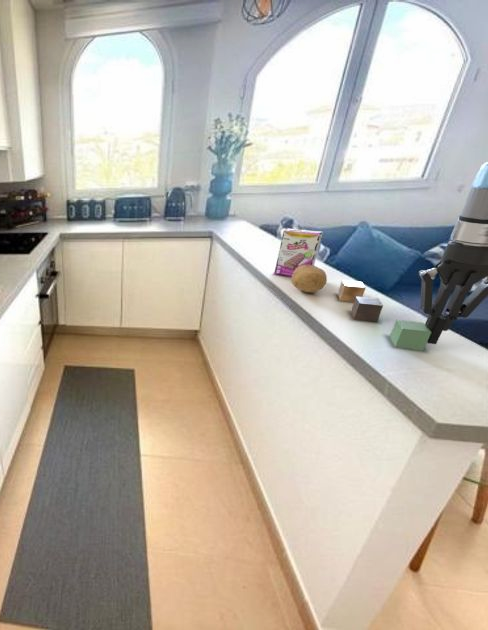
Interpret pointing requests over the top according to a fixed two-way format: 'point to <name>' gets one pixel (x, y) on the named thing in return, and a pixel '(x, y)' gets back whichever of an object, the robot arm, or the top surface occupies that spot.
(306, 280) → the potato
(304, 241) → the candy bar box
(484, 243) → the robot arm
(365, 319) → the walnut block
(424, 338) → the sage block
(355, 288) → the oak block
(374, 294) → the top surface
